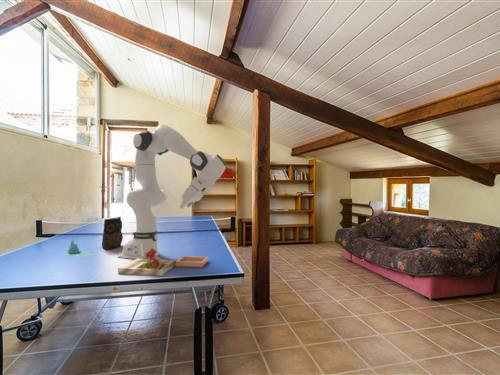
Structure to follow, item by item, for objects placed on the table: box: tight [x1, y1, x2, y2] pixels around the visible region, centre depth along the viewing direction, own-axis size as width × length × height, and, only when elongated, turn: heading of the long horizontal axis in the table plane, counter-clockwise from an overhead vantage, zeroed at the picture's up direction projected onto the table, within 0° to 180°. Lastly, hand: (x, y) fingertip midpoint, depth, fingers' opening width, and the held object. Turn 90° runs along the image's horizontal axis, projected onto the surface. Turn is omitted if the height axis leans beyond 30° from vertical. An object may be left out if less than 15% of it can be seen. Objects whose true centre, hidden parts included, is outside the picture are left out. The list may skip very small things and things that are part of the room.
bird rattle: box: [142, 248, 163, 269], centre depth 128 cm, size 6×11×9 cm
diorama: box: [63, 238, 94, 257], centre depth 159 cm, size 12×20×9 cm, turn 78°
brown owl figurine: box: [101, 216, 124, 251], centre depth 175 cm, size 13×13×20 cm
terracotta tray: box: [174, 255, 209, 269], centre depth 140 cm, size 14×11×2 cm
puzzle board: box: [117, 258, 177, 277], centre depth 131 cm, size 21×17×3 cm
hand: (184, 207), depth 130 cm, fingers open, 8 cm apart
